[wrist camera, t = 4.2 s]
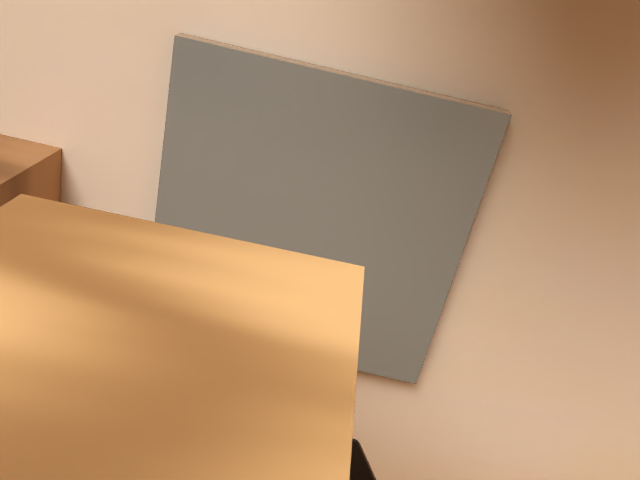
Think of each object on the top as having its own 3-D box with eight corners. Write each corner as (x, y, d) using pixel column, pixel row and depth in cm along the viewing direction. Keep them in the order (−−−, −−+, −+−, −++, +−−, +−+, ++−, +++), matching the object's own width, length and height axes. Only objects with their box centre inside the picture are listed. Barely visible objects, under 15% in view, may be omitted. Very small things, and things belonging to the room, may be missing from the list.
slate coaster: (150, 312, 22) (144, 321, 22) (180, 32, 18) (174, 35, 17) (414, 373, 22) (415, 383, 22) (507, 110, 18) (511, 115, 18)
